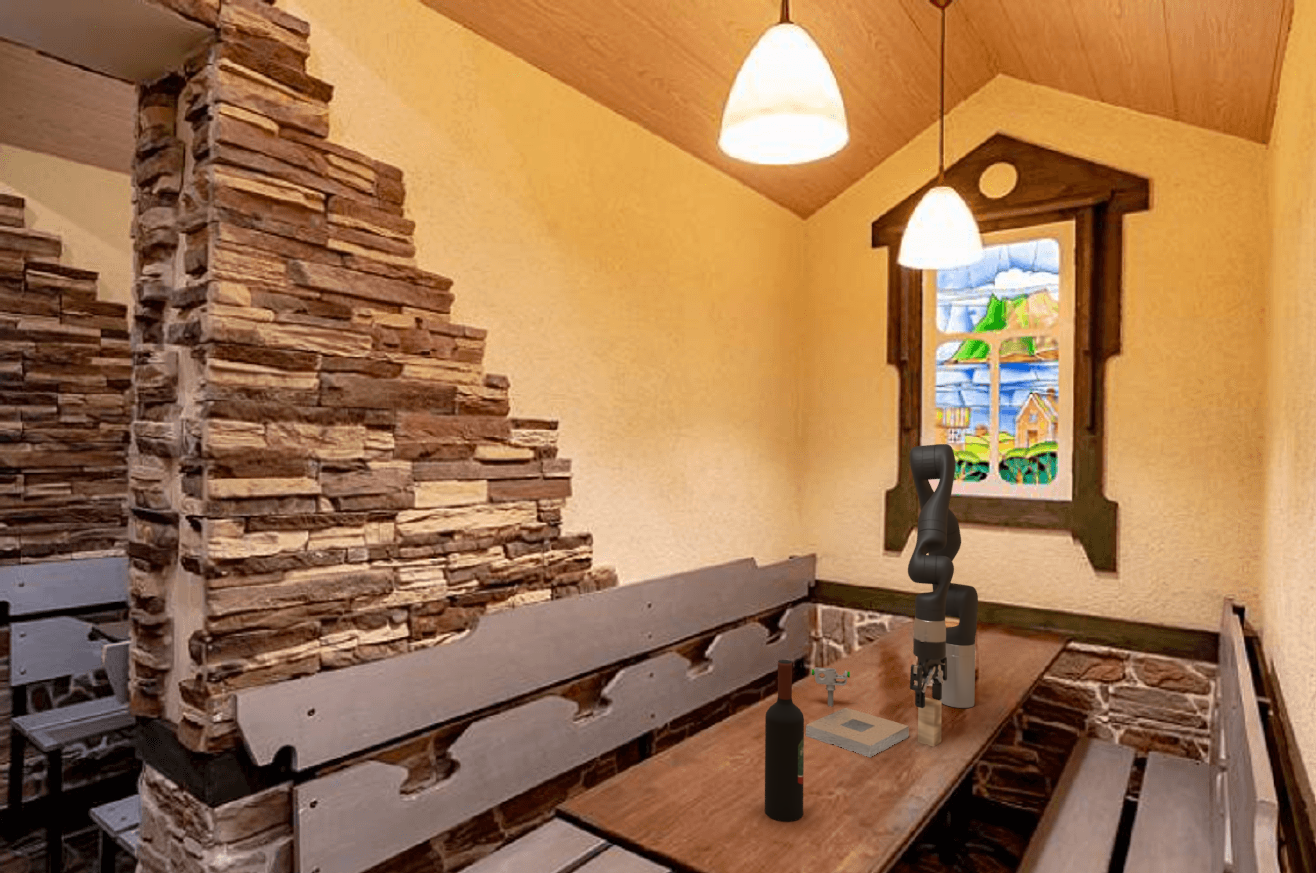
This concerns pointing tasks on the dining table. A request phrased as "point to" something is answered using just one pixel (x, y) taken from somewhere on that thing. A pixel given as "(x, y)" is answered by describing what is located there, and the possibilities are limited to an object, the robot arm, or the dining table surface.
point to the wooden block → (930, 722)
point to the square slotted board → (857, 731)
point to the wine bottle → (784, 752)
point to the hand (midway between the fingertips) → (928, 703)
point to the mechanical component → (830, 680)
